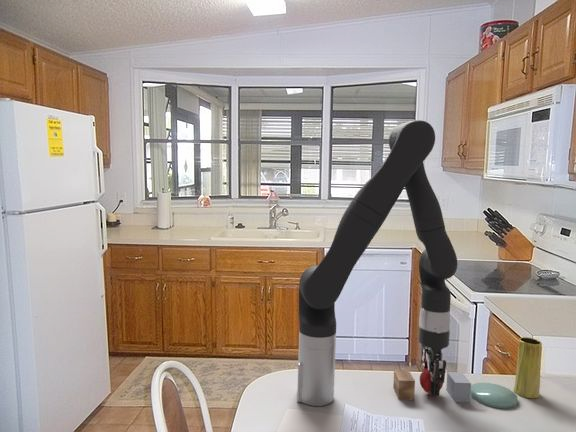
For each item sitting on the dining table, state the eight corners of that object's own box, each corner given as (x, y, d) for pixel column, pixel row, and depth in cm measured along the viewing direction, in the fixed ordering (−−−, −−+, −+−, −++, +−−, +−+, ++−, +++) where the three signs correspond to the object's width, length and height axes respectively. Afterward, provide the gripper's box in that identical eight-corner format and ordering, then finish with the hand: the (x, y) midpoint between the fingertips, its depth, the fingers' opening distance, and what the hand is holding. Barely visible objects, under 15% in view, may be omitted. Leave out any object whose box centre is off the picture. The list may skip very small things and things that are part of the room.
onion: (443, 401, 110) (445, 370, 109) (420, 398, 111) (421, 368, 110) (440, 390, 116) (442, 361, 115) (418, 387, 117) (419, 359, 116)
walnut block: (398, 399, 111) (399, 380, 110) (393, 387, 117) (394, 369, 116) (414, 399, 111) (415, 380, 110) (408, 388, 117) (409, 370, 116)
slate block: (453, 401, 110) (455, 382, 110) (446, 390, 116) (447, 372, 116) (469, 402, 110) (471, 383, 110) (461, 390, 116) (462, 372, 116)
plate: (479, 407, 108) (480, 402, 107) (463, 386, 119) (463, 381, 118) (525, 409, 107) (525, 404, 107) (504, 387, 118) (505, 383, 118)
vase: (514, 395, 114) (518, 342, 113) (512, 385, 119) (516, 335, 118) (541, 400, 112) (545, 346, 110) (537, 390, 117) (541, 338, 116)
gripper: (412, 316, 119) (409, 375, 121) (427, 335, 105) (423, 402, 106) (440, 317, 119) (437, 376, 120) (459, 336, 105) (455, 403, 106)
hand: (430, 388), depth 113 cm, fingers closed on onion, 6 cm apart
